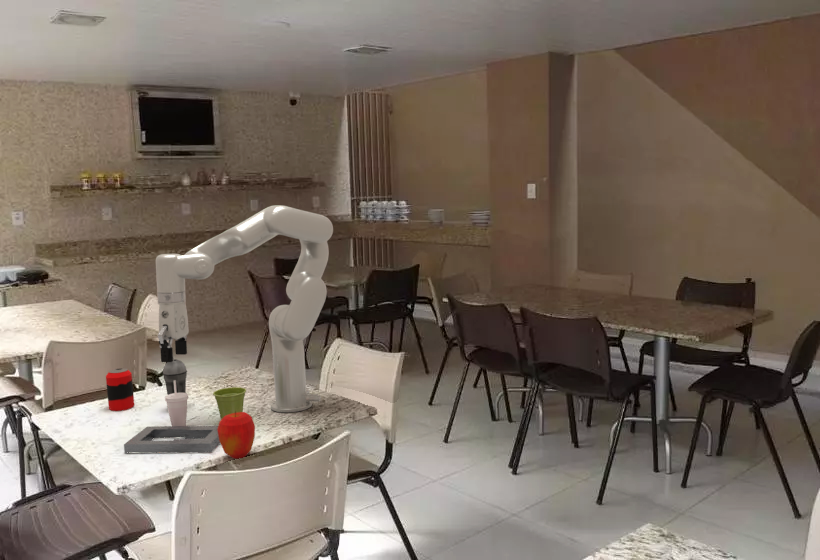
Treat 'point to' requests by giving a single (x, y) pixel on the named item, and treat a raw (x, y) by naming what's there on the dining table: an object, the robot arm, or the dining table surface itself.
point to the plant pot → (230, 400)
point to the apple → (236, 434)
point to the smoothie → (177, 407)
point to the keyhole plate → (194, 440)
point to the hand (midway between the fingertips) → (174, 358)
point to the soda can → (120, 389)
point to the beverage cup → (175, 376)
